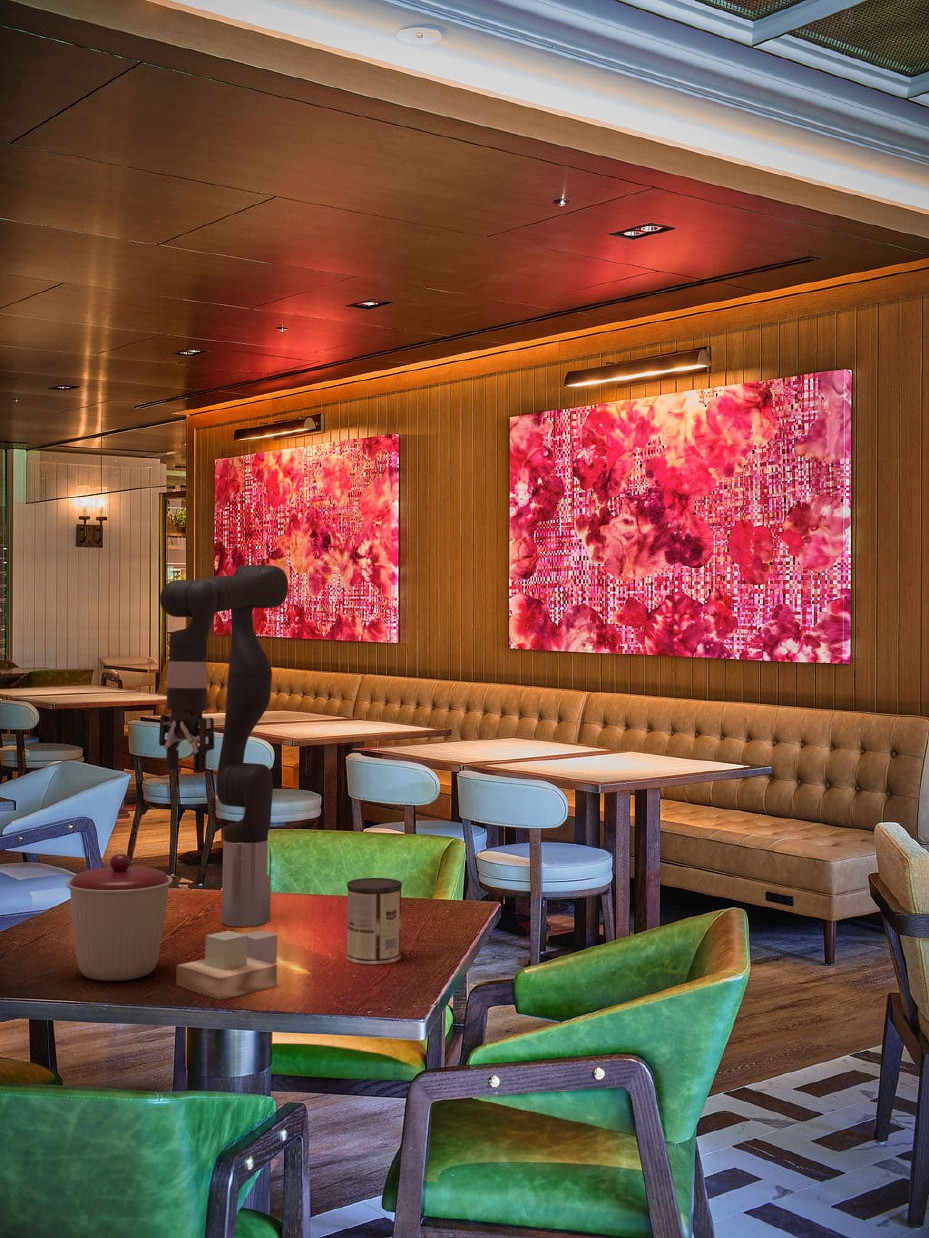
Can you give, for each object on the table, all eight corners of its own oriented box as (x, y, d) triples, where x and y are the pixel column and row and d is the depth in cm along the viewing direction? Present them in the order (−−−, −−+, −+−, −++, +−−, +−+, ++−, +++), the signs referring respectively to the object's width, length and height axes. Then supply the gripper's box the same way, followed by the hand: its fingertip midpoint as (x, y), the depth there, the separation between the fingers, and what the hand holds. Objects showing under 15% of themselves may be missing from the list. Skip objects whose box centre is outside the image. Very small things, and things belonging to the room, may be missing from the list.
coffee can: (359, 949, 242) (360, 875, 242) (408, 954, 238) (410, 879, 239) (336, 961, 232) (337, 885, 232) (388, 967, 229) (389, 889, 229)
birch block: (233, 975, 223) (233, 952, 223) (276, 988, 215) (276, 964, 215) (176, 988, 214) (176, 965, 214) (219, 1002, 206) (219, 978, 206)
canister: (84, 960, 230) (86, 844, 231) (182, 962, 230) (184, 846, 230) (48, 987, 212) (51, 861, 213) (154, 989, 212) (157, 864, 212)
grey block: (259, 957, 235) (260, 930, 235) (276, 961, 232) (277, 934, 232) (238, 961, 231) (238, 934, 231) (255, 966, 228) (255, 939, 228)
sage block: (228, 959, 219) (228, 930, 219) (246, 964, 215) (247, 935, 216) (205, 964, 215) (205, 935, 215) (224, 970, 212) (224, 940, 212)
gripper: (226, 686, 236) (224, 773, 236) (181, 684, 246) (179, 767, 245) (193, 687, 230) (191, 775, 230) (148, 684, 240) (147, 769, 240)
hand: (185, 771), depth 238 cm, fingers open, 8 cm apart
